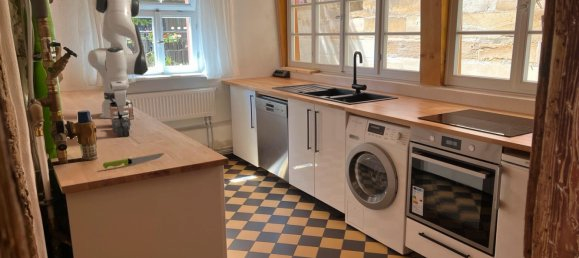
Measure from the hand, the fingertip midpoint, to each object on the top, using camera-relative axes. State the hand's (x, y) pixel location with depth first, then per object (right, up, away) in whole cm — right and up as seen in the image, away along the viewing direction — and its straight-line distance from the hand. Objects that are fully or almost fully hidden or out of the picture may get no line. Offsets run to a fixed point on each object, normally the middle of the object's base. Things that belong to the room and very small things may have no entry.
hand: (121, 113), depth 201 cm
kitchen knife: (+21, -21, -41) cm, 51 cm away
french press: (-9, -6, +24) cm, 26 cm away
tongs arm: (-1, -9, +7) cm, 11 cm away
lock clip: (0, -2, 0) cm, 2 cm away
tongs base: (-3, -9, +9) cm, 13 cm away
